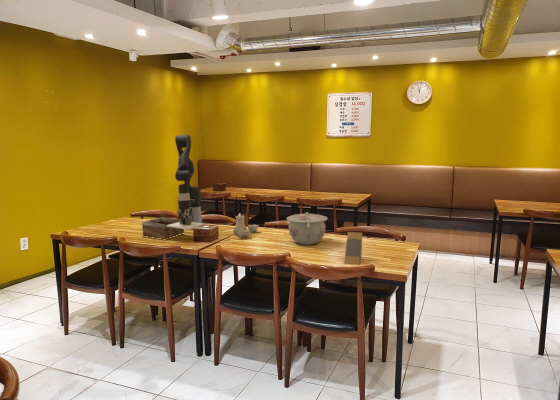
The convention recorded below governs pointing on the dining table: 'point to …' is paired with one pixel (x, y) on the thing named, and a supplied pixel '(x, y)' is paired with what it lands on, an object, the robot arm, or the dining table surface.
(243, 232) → the chinaware
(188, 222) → the lid
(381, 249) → the dining table surface
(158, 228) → the box
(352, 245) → the sandwich container
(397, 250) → the dining table surface
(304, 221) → the chamber pot
